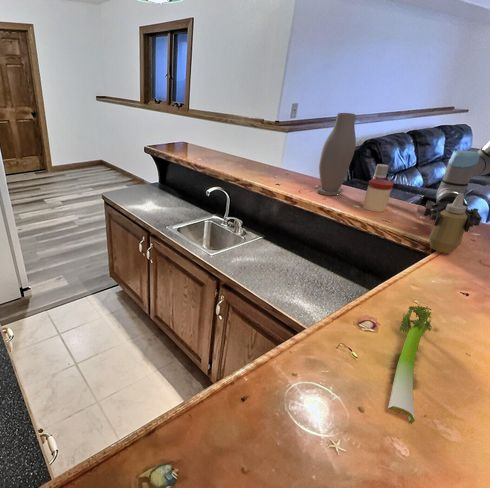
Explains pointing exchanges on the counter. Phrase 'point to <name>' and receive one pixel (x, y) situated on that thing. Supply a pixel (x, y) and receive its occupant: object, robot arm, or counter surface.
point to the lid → (380, 184)
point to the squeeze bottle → (449, 227)
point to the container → (381, 171)
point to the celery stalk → (408, 361)
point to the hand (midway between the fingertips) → (452, 224)
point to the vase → (337, 154)
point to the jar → (376, 199)
